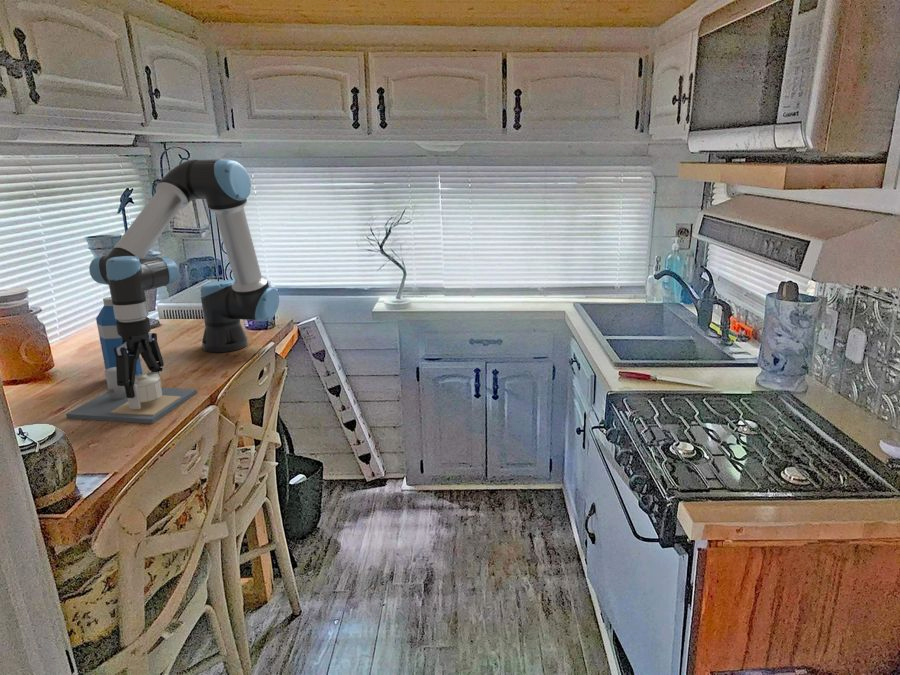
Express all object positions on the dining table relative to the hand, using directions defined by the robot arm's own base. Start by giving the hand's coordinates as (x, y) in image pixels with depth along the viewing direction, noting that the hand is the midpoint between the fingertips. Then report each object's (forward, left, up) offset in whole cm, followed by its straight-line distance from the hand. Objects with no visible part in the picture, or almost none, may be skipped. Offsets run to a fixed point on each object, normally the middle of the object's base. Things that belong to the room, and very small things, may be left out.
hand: (146, 401), depth 153 cm
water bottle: (-20, -21, -2) cm, 29 cm away
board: (-2, -5, -2) cm, 6 cm away
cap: (0, 0, +1) cm, 1 cm away
